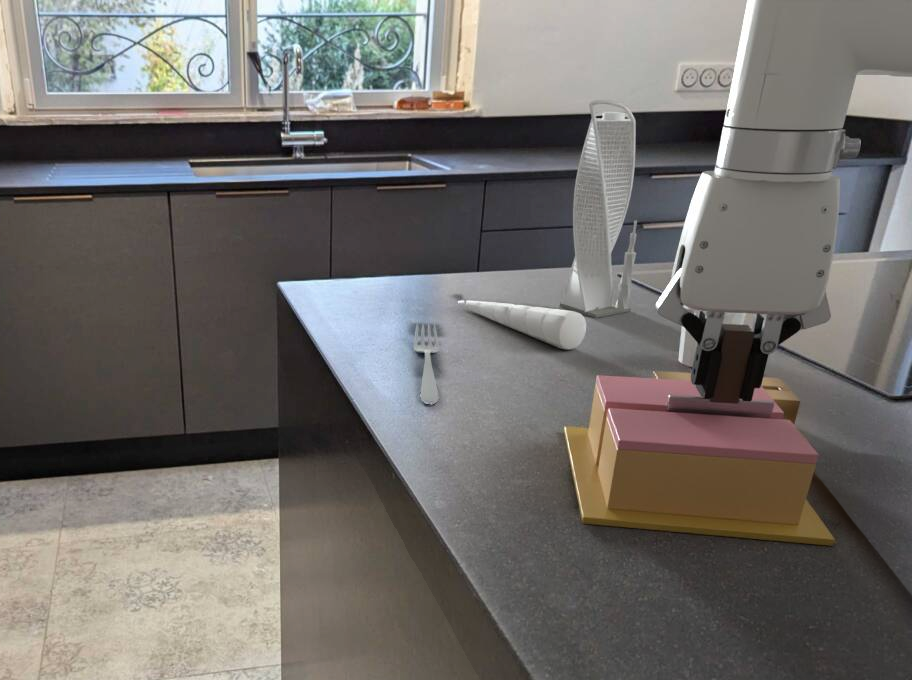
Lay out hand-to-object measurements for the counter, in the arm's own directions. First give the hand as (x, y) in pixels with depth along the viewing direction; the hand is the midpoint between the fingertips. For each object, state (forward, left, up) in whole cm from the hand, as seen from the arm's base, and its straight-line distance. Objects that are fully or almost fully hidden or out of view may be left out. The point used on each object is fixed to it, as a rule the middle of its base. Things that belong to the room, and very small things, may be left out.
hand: (722, 392), depth 67 cm
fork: (+25, -25, -8) cm, 37 cm away
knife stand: (-4, -14, -8) cm, 17 cm away
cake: (+2, 0, -8) cm, 8 cm away
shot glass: (-7, -33, -8) cm, 35 cm away
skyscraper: (+4, -55, -8) cm, 56 cm away
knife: (0, 0, -8) cm, 8 cm away
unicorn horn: (+15, -43, -8) cm, 46 cm away
